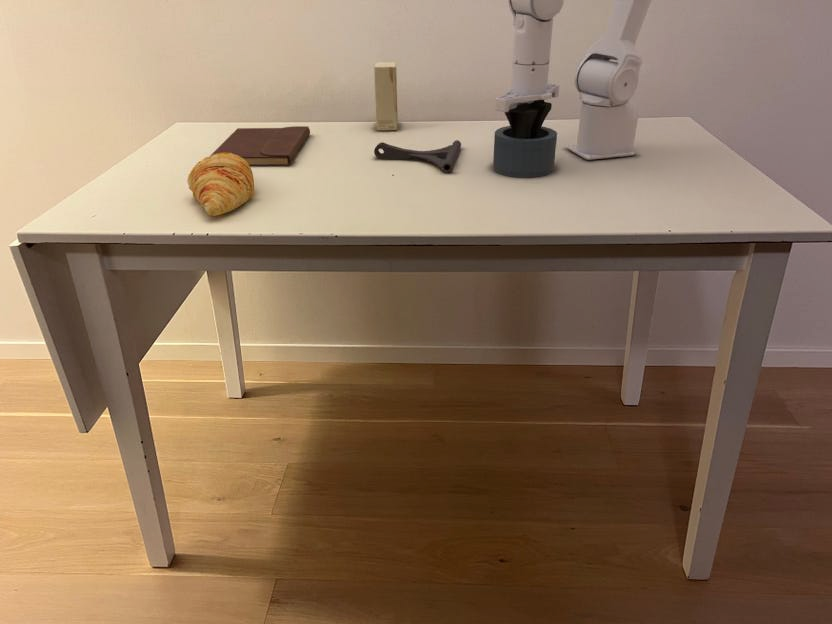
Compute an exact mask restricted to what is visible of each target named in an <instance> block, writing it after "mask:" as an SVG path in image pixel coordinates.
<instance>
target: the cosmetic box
mask: <svg viewBox="0 0 832 624" xmlns="http://www.w3.org/2000/svg"><path fill="white" fill-rule="evenodd" d="M373 67H374V68H373V72H374V73H373V75H374V93H375V95H374V96H375V97H374V99H375V119H376V120H375V121H376V123H375V124H376V131H398V127H399V121H398V120H399V119H398V118H399V117H398V116H399V115H398V80H397V78H398V77H397V76H398V75H397V62H395V61H379V62H378V61H377V62H375V63H374V66H373Z"/></svg>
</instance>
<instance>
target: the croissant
mask: <svg viewBox="0 0 832 624" xmlns="http://www.w3.org/2000/svg"><path fill="white" fill-rule="evenodd" d="M210 155H211V154H210ZM210 155H209V156H210ZM209 156H206V157H204V158H203V159H202V160H200V161H198V162H197V163H196V164H195V165H194V166H193V167H192V169H191V170H190V173H188V175H187V179H186V181H187V182H186V183H187V185H188V189H189V190H190V191H191V192H192V196H193V198H194V199H195V200H196V201H198V202H199V204H200V207H201V208H203V209H204V211H205V212H206V214H207V215H209V216H212V217H217V216H220V215H223V214H225V213H229V212H231V211H233V210H235V209H237V208H239V207H240V206H242V205H243V204H245V203H246V202H248V201H249V200H252V198H253V197H254V196H255V179H254V172H253V170H252V168H251V166H249V164H248V162H247V161H246V160H244V159H243V158H242V157H240V156H238V155H235V154H232V153H231V152H221V153H217V154H214V155H211V156H210V157H209Z"/></svg>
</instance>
